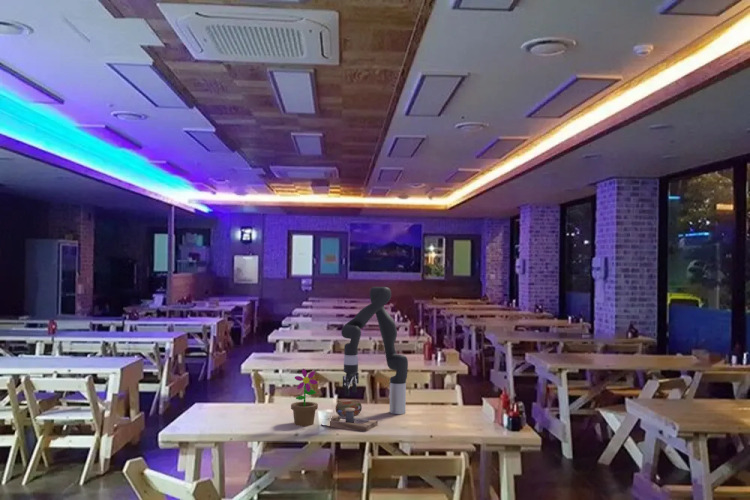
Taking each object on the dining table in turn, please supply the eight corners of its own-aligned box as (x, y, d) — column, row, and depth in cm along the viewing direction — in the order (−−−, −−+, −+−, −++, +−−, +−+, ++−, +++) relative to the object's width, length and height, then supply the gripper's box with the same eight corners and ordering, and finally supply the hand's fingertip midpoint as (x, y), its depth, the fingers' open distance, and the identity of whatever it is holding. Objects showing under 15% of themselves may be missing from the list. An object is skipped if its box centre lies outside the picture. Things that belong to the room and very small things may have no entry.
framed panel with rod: (334, 419, 358) (334, 415, 358) (377, 425, 347) (377, 420, 347) (321, 425, 346) (321, 420, 346) (366, 431, 335) (366, 426, 335)
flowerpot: (292, 427, 340) (293, 369, 340) (288, 421, 354) (289, 365, 354) (320, 426, 344) (320, 369, 344) (315, 419, 358) (315, 364, 358)
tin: (336, 417, 365) (336, 401, 365) (334, 415, 368) (334, 400, 368) (361, 415, 371) (362, 400, 371) (359, 413, 374) (360, 399, 374)
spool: (347, 423, 350) (347, 407, 350) (356, 425, 348) (356, 408, 348) (342, 426, 345) (343, 409, 345) (351, 427, 343) (352, 410, 343)
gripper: (351, 365, 339) (350, 397, 339) (363, 361, 352) (362, 392, 352) (338, 364, 342) (338, 395, 342) (350, 360, 355) (350, 390, 355)
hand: (350, 393), depth 347 cm, fingers open, 8 cm apart
